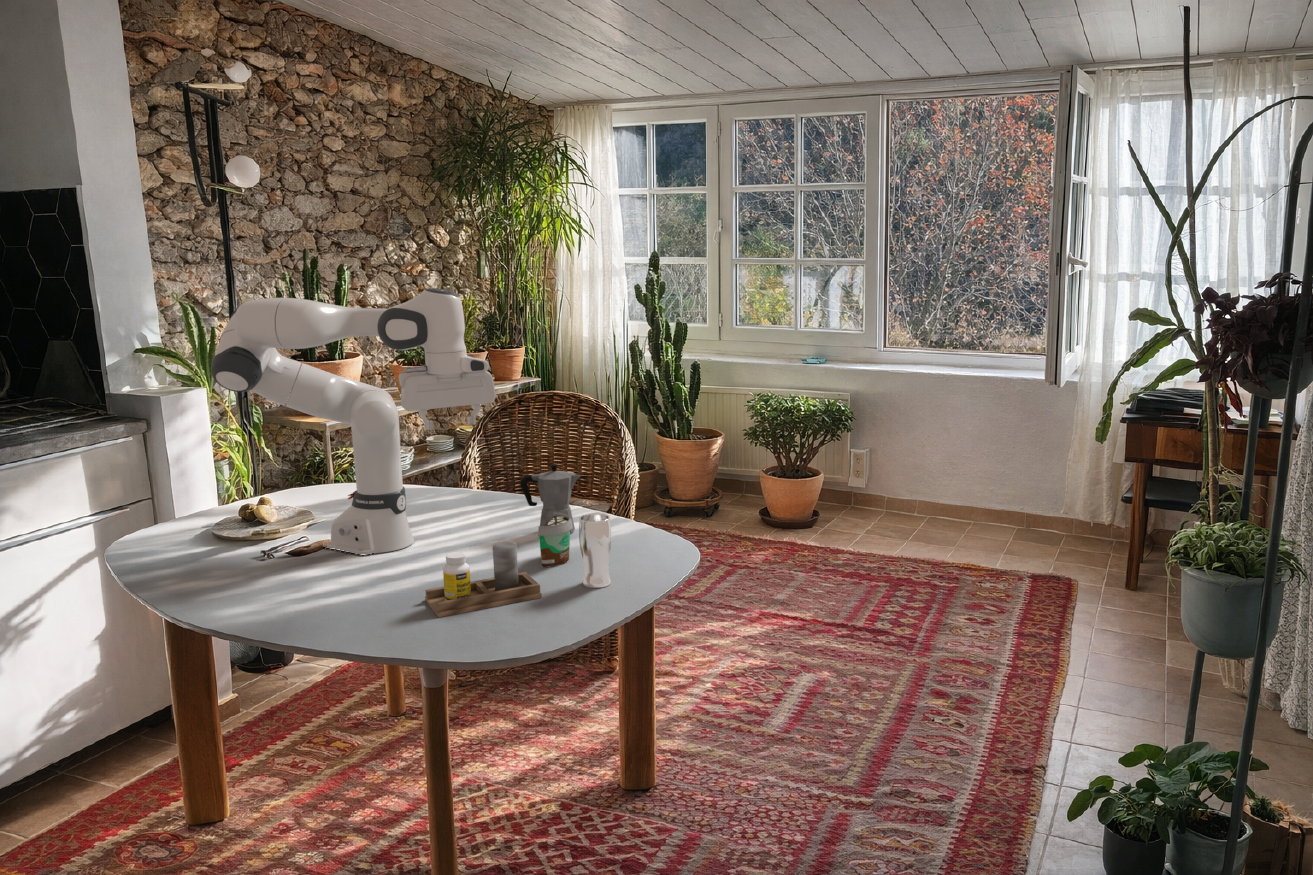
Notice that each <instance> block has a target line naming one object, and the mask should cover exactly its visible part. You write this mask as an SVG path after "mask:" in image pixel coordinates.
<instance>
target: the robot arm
mask: <svg viewBox="0 0 1313 875" xmlns="http://www.w3.org/2000/svg"><path fill="white" fill-rule="evenodd" d="M465 332H466V324H465V313H464V307H463V304H462V299H461V297H460V296H459V295H458V294H457V292H455V291H453V290H451V289H444V288H434V287H429V288H426V289H424V290H423V291H422V292H420V293H419V294H418V295H416V296H414V298H411V299H410V300H407V301H405V302H402V303H399V304H397V305H395V306H391V307H388V308H381V307H378V308H377V307H349V306H344V305H338V304H337V305H336V304H332V303H326V302H321V301H317V300H310V299H303V298H298V297H297V298H296V297H295V298H294V297H269V298H257V299H253V300H248V301H244V302H242V303H240V304H239V305H238V306H237V307H236V308H235V309H234V310H233V312H232V313H231V315H230V319H229V320H228V322H227V323H226V326H225V327H224V329H223V331H222V333H221V335H220V340H219V342H218V344H217V349H216V351H215V355H214V356H213V358H212V360H211V366H210V375H211V377H212V379H213V380H214V381H215V383H217V384H218V385H219V386H220V387H222V388H224V389H226V390H228V391H230V392H235V393H236V392H237V393H244V392H245V393H246V392H250V391H251V392H253V393H255V394H256V395H259V396H261V397H262V398H264V399H266V400H268V401H271V402H273V403H276V404H278V405H281V406H283V407H286V408H290V409H293V410H294V411H298V412H301V413H304V414H307V415H310V416H312V417H315V418H318V419H324V420H329V421H333V422H338V423H343V424H346V425H350V427H351V437H352V451H353V463H354V472H355V473H354V474H355V475H354V476H355V485H356V487H355V488H356V489H355V491H353V492H352V493H350V494H348V495H347V497H348V498H347V500H351V499H352V502H351V505H350V506H349V507H348V508H347V509H345V510H344V511H343V512H342V513H340V515H338V516H337V517H336V518H335V519H334V520H333V522H332V523H331V530H330V537H331V544H330V545H327V548H335V549H340V550H344V551H349V552H353V553H357V554H370V555H373V554H372V553H374V554H378V553H380V554H381V553H388V552H389V553H390V552H392V551H397V550H401V549H404V548H407V547H409V546H411V545H412V544H414V541H415V539H414V536H413V535H412V530H411V529H410V524H409V520H408V516H407V510H406V509H407V498H406V495H407V494H406V488H405V486H404V485H403V484H404V483H403V482H404V481H403V472H402V471H403V470H402V456H401V455H402V453H401V434H400V433H401V432H400V417H399V410H398V408H397V406H396V403H395V401H394V398H393V397H392V395H391V394H390V393H389V392H388V391H386V390H384V389H383V388H381V387H377V386H375V385H371V384H368V383H365V382H362V381H359V380H356V379H351V378H349V377H346V376H340V375H337V374H335V373H332V372H328V371H326V370H323V369H321V368H318V367H315V366H313V365H310V364H307V363H304V362H301V361H298V360H295V359H293V358H288V357H286V356H284V355H283V354H280V352H279V351H278V350H277V349H283V350H285V349H286V350H295V349H296V350H300V349H310V348H315V347H316V348H317V347H320V346H321V347H322V346H324V345H327V344H330V343H333V342H334V343H335V342H337V341H339V340H344V339H348V338H353V337H354V338H355V337H379V339H380V340H381V342H382V343H383V344H384V345H385V346H386V347H388V348H389V349H391V350H394V351H395V350H396V351H406V350H411V349H415V348H418V347H423V349H424V359H425V360H424V361H425V365H421V366H412V367H411V366H409V367H405V368H404V369H403V370H401V371H400V372H399V373H398V385H399V387H400V388H401V389H400V391H401V392H400V405H401V407H402V408H403V409H404V410H405V411H407V412H413V411H415V412H416V411H418V415H419V417H421V419H422V421H423V422H424V430H426V431H430V430H431V431H432V430H434V421H433V420H432V419H431V420H429V419H428V417H427V416H426V415H428V410H434V409H444V408H445V409H446V408H453V407H464V406H465V407H466V406H471V408H470V409H473V410H472V412H471V413H470V415H468V416H467V417H466V418H467V419H466V420H467V425H468V426H475V425H477V418H476V417H477V416H478V414H479V412H480V410H481V405H483V404H484V405H485V404H493V402H495V400H496V398H497V397H496V396H497V395H496V389H495V388H496V387H495V382H494V378H493V376H492V375H493V374H491V373H490V372H489V370H490V364H489V361H488V360H485V359H483V358H479V357H476V356H473V355H468V354H467V347H466V343H465V339H464V338H465ZM357 554H356V555H357Z"/></svg>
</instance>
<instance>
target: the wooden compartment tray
mask: <svg viewBox="0 0 1313 875" xmlns="http://www.w3.org/2000/svg"><path fill="white" fill-rule="evenodd" d="M517 548H518V546H517V543H514V542H510V541H507V542H506V541H504V542H498V543H497V542H496V543H495V544H493V545H492V558H493V577H489V578H485V579H484V578H483V579H479V580H473V581H470V584H471V596H468V597H462V598H457V599H452V600H446V601H445V594H444V586H440V587H434V588H429V589H425V596H424V600H425V602H426V603H427V604H428V605H429V607H430V609H431V610H432V611H433V613H434V614H435V615H436V617H438V618H443V617H448V616H454V615H458V614H463V613H468V612H469V613H470V612H475V611H479V610H484V609H489V608H495V607H501V606H505V605H510V604H516V603H522V602H526V601H530V600H535V599H536V600H537V599H541V598H543V594H542V593H541V585H540V584H539V583H538V582H537V581H536V580H535V579H534V578H533V577H532V576H530V575H529V574H528V573H527V571H523V572H519V567H518V566H519V565H518V564H519V563H518V550H517Z"/></svg>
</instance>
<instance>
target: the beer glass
mask: <svg viewBox="0 0 1313 875" xmlns="http://www.w3.org/2000/svg"><path fill="white" fill-rule="evenodd" d="M578 523H579V525H578V540H579V547H580V553H581V557H582V561H583V568H584V573H583V580H582V581H583V582H582V585H583V586H584V587H586V588H589V589H600V588H606V587H609V586H610V585H611V582H612V581H611V576H610V571H609V570H610V568H609V563H610V562H609V561H610V554H611V548H612V528H611V518H610V516H609V515H608V514H606V513H597V512H595V513H587V514H583V515H581V516H580V517H579V522H578Z"/></svg>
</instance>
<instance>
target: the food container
mask: <svg viewBox="0 0 1313 875" xmlns="http://www.w3.org/2000/svg"><path fill="white" fill-rule="evenodd" d="M572 528H573V525H572V521H571V519H570V517H569V516H568V515H566V514H562V513H553V518H552V519H551V520H548V521H547V522H546V523H545V525H544V526H540V525H539V526H538V529H537V531H538V532H537V536H538V538H539V549H540V551H539V552H540V559H541V560H540V561H541V562H540V563H541V567H542V566H544V567H545V568H546V567H547V568H549V567H548V566H550V567H557V566H561V565H564V564H566V563H568V562H569V561H570V546H571V545H570V544H571V542H570V538H571V537H570V536H571V534H570V530H571V529H572ZM568 560H569V561H568ZM567 561H568V562H567ZM544 567H543V568H544Z"/></svg>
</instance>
